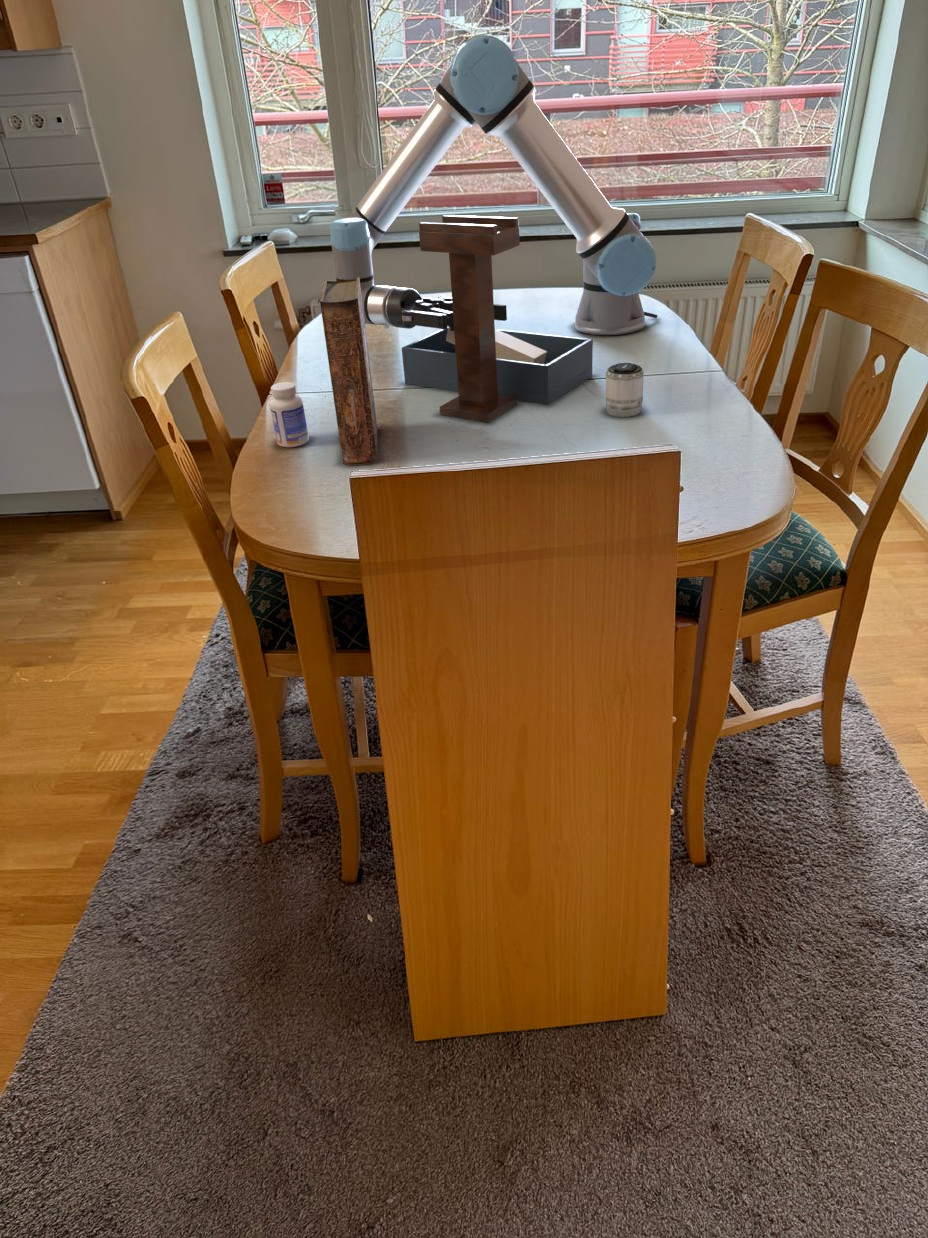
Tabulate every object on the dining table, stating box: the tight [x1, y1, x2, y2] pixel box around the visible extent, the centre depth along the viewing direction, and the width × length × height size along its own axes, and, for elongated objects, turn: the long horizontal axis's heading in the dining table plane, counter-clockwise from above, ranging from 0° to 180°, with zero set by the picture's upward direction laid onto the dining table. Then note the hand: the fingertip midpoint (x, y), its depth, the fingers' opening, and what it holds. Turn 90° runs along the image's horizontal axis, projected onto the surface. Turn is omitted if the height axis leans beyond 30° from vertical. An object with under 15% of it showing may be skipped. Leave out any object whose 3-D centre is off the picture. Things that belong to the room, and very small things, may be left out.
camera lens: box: [605, 362, 645, 418], centre depth 154 cm, size 6×6×8 cm
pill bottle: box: [269, 381, 310, 448], centre depth 152 cm, size 5×5×10 cm
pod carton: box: [446, 326, 547, 364], centre depth 172 cm, size 19×5×4 cm, turn 57°
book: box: [319, 277, 378, 466], centre depth 144 cm, size 16×6×25 cm, turn 5°
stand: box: [418, 214, 521, 424], centre depth 153 cm, size 14×10×31 cm
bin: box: [401, 326, 594, 406], centre depth 173 cm, size 32×18×7 cm, turn 57°
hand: (496, 317), depth 169 cm, fingers open, 6 cm apart
